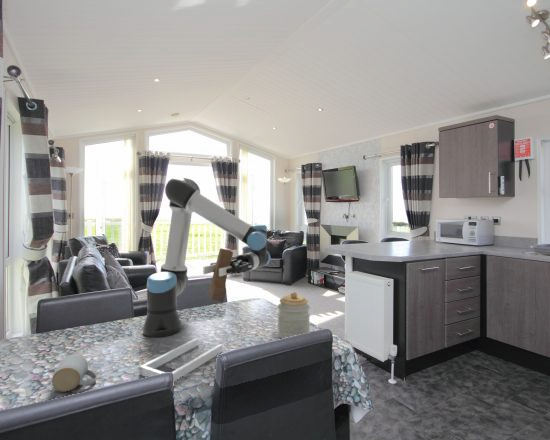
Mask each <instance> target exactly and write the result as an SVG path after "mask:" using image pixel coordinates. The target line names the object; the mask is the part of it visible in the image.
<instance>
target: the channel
mask: <svg viewBox="0 0 550 440" xmlns="http://www.w3.org/2000/svg"><path fill="white" fill-rule="evenodd" d="M197 346H199V338H197V337H195V338H193V339H191V340H190V341H187V342H185V343H184V344H181V345H179V346H177V347H175V348H173V349H171V350H169V351H168V352H166V353H164V354H162V355H159V356H157V357H155V358H154V359H153V358H152V359H151V360H150V361H148V362H146V363H144V364H142V365H140V366H139V375H141V376H143V377H145V378H148V377H147V376H151V375H156V374H161V373H165V372H172V373H173V375H174V382H176V381H178V380H179V379H181V378H183V377H184V376H186V375H188V374H190V373H191V372H192V371H194V370H195V369H197V368H198V367H200V366H202V365H203V364H205V363H207V362H208V361H210V360H211V359H214V357H216V356H218V355H219V354H221V353H222V352H223V344H220V343H219V344H218V345H216V346H214V347H212V348H211V349H209V350H207V351H205V352H204V353H202V354H200V355H199V356H196V357H195V358H193V359H192V360H189V361H188V362H186V363H185V364H183V365H181V366H179V367H177V368H173V367H169V366H166V365H164V364H166V363H168V362H169V361H172V360H174V359H176V358H177V357H180V356H181V355H183V354H185V353H186V352H188V351H190V350H192V349H194V348H196V347H197ZM217 354H218V355H217ZM182 376H183V377H182ZM180 377H181V378H180ZM177 379H178V380H177ZM174 382H173V383H174Z"/></svg>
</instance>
